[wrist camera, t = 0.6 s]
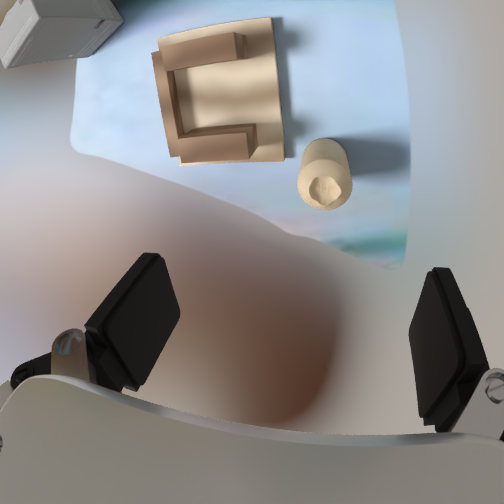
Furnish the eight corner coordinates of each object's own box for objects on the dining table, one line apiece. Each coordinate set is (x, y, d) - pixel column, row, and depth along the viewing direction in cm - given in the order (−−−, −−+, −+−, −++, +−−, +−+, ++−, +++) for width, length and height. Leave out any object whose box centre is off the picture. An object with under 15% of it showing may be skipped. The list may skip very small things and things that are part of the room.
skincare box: (90, 57, 32) (5, 78, 19) (72, 28, 29) (-11, 41, 16) (128, 20, 28) (40, 21, 16) (108, -10, 25) (21, -14, 12)
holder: (161, 38, 29) (135, 38, 25) (271, 18, 26) (261, 10, 21) (183, 162, 40) (163, 180, 35) (285, 158, 36) (278, 176, 32)
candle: (348, 140, 33) (357, 167, 25) (344, 181, 36) (349, 219, 29) (303, 135, 34) (297, 161, 26) (301, 176, 37) (294, 213, 30)
